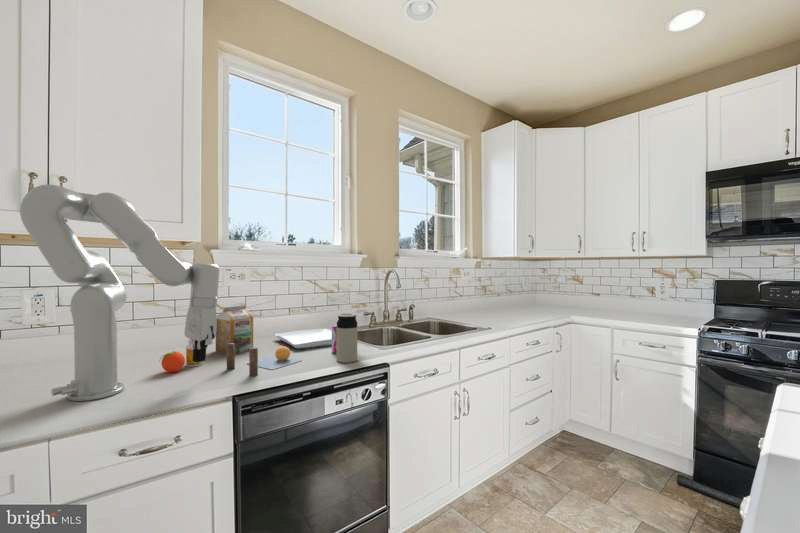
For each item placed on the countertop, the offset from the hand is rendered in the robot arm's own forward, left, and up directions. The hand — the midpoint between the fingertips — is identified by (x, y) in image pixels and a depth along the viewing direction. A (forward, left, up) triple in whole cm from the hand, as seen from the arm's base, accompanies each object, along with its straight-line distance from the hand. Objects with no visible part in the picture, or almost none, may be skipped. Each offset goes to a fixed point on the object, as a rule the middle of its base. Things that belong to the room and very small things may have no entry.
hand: (198, 360), depth 115 cm
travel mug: (+45, -22, -7) cm, 51 cm away
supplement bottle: (+10, +21, -7) cm, 24 cm away
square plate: (+61, +13, -8) cm, 63 cm away
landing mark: (+28, -1, -7) cm, 29 cm away
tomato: (+1, +19, -7) cm, 20 cm away
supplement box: (+53, -12, -7) cm, 55 cm away
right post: (+14, -7, -7) cm, 18 cm away
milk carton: (+31, +28, -7) cm, 43 cm away
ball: (+32, -2, -4) cm, 32 cm away
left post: (+14, +5, -7) cm, 17 cm away
